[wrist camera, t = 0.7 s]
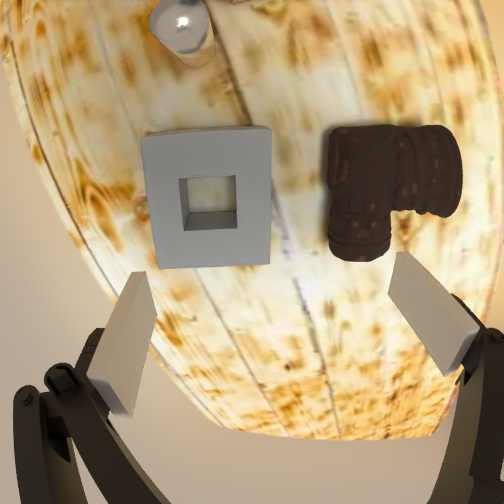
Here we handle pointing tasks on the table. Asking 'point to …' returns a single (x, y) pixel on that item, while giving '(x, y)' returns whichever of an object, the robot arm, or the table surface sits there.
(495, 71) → the table surface
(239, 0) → the square bit
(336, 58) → the table surface
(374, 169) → the pipe
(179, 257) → the socket block
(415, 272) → the robot arm
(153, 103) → the table surface
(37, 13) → the table surface
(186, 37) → the cylinder
